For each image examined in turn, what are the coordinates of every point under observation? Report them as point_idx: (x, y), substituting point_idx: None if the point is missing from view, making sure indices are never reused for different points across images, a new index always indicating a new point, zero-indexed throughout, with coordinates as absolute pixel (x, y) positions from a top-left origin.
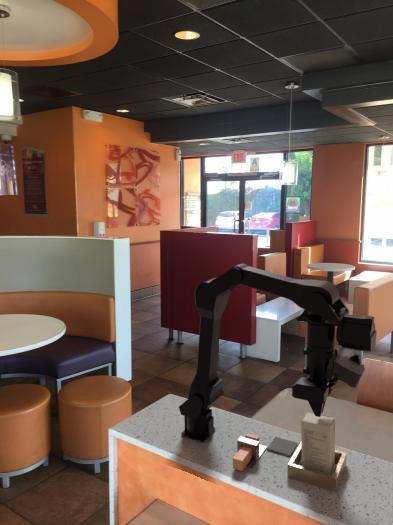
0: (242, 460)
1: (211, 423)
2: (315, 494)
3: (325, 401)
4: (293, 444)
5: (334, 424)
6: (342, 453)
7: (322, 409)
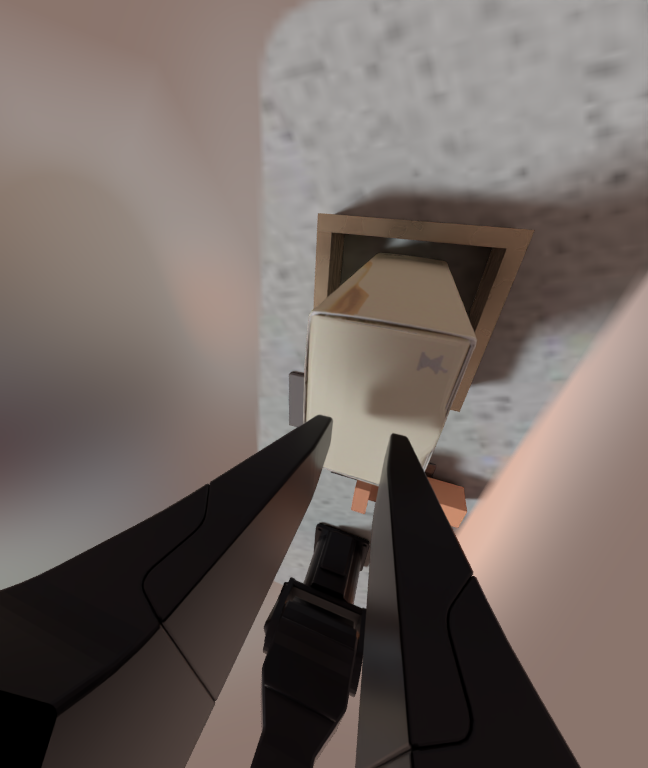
0: (463, 510)
1: (335, 558)
2: (535, 300)
3: (281, 476)
4: (301, 384)
5: (344, 300)
6: (328, 231)
7: (325, 436)
